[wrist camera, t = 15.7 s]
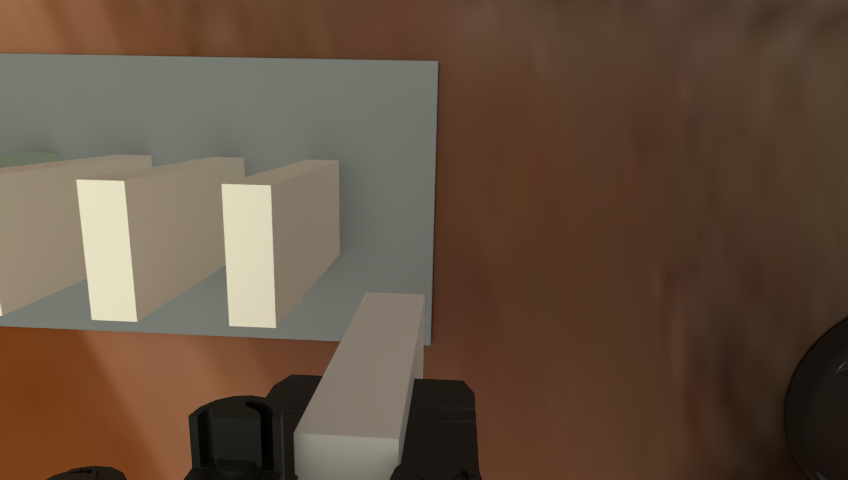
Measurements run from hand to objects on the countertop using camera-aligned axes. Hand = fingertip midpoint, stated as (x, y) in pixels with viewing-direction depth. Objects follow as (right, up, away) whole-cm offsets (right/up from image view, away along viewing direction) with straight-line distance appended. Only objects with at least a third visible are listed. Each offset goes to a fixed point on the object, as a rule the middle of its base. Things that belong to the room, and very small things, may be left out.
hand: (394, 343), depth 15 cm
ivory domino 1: (-18, +5, +22) cm, 28 cm away
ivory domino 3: (-6, +5, +21) cm, 22 cm away
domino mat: (-18, +5, +22) cm, 29 cm away
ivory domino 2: (-12, +5, +22) cm, 25 cm away
